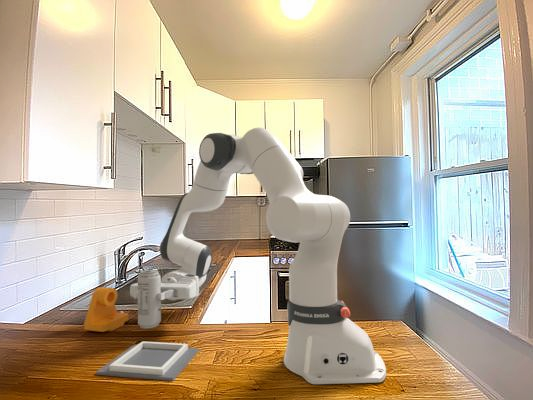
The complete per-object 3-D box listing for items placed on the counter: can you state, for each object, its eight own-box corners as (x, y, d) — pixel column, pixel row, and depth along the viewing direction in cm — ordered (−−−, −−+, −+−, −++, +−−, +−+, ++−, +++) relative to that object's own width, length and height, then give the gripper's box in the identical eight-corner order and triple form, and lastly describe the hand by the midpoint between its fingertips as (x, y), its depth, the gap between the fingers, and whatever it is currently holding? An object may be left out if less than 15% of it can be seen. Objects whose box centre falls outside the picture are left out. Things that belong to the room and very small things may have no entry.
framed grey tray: (199, 350, 77) (199, 343, 77) (173, 380, 63) (173, 372, 63) (134, 346, 80) (134, 339, 80) (96, 374, 66) (96, 366, 66)
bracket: (103, 334, 88) (104, 293, 89) (84, 332, 90) (84, 291, 91) (129, 321, 98) (130, 284, 99) (111, 320, 100) (112, 283, 101)
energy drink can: (164, 324, 84) (164, 270, 85) (143, 331, 80) (142, 274, 81) (155, 320, 89) (154, 268, 89) (134, 325, 84) (134, 271, 85)
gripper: (146, 274, 100) (115, 284, 87) (202, 275, 95) (179, 286, 81) (146, 293, 100) (116, 306, 86) (203, 296, 95) (179, 310, 81)
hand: (147, 296), depth 84 cm, fingers closed on energy drink can, 6 cm apart
